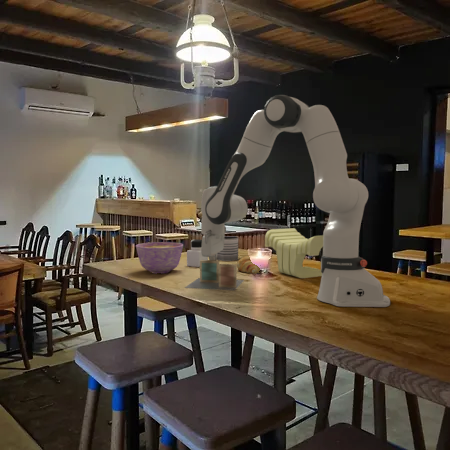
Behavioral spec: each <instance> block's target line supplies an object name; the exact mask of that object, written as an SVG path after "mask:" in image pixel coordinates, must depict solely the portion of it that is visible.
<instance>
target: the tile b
mask: <svg viewBox="0 0 450 450" xmlns="http://www.w3.org/2000/svg"><path fill="white" fill-rule="evenodd" d="M237 269H238V268H237V264H233V263H230V264H229V263H219V287H233V288H236V280H237V271H238V270H237ZM236 289H237V288H236Z"/></svg>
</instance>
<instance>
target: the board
mask: <svg viewBox="0 0 450 450" xmlns="http://www.w3.org/2000/svg"><path fill="white" fill-rule="evenodd" d="M244 281H245V279H236V288H233V287H219V282H218V283H217V282H200V277H198V278H196V279H195V280H194V281H192V282H191V283H189V284H188V285H187V286H184V288H185V289H200V290H201V289H202V290H218V291H220V290H221V291H236V290H237V288H239V286H240V285H241V284H242V283H243V282H244Z"/></svg>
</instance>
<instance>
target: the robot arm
mask: <svg viewBox="0 0 450 450" xmlns="http://www.w3.org/2000/svg"><path fill="white" fill-rule="evenodd" d="M282 132H284V133H285V134H302V135H303V138H304V141H305V144H306V147H307V150H308V153H309V156H310V159H311V162H312V163H311V164H312V166H313V172H314V173H313V174H314V189H313V193H312V198H313V199H312V200H313V203H314V205H315V206H316V207H317V208H318V209H319V210H321V211H323V212H325V213H328V214H329V217H328V220H327V223H326V226H325V228H324V230H323V234H322V235H323V247H322V255H321V257H320V270H321V272H322V276H320V277H321V278H320V284H319V290H318V294H317V296H316V299H317V300H318V301H320V302H323V303H327V304H331V305H333V306H336V307H345V308H346V307H354V308H356V307H357V308H358V307H359V308H363V307H364V308H365V307H367V308H368V307H369V308H370V307H371V308H373V307H374V308H386V307H389V306H391V299H390V298H389V297H388V296H387V295H385V294H384V290H383V289H384V288H383V285H382V283H381V281H380V280H379V279H378V278H376V277H375V276H374V275H373V274H371V273H370V272H369V271H368V270H367V269H366V268H365V267H366V266H367V265H368V261H367V260H366V259H364V258H363V257H360V256H359V252H360V251H359V250H360V249H359V245H360V244H359V243H360V242H359V241H360V230H361V225H362V224H361V223H362V221H363V216H364V211H365V206H366V204H367V202H368V199H369V191H368V187H366V185H365V184H364V183H362V181H359V180H358V179H356V178H349V175H348V169H347V159H348V153H347V150H346V147H345V144H344V141H343V138H342V135H341V132H340V129H339V126H338V125H337V122H336V120H335V118H334V116H333V114H332V112H331V111H330V109H329V107H327V106H326V105H322V104H315V105H312V106H310V105H308V103H305V102H303V101H301V100H300V99H298V98H296V97H292V96H288V95H287V94H286V95H285V94H276V95H273V96H271V97H270V98H269V99H268V100H267V101H266V103H265V105H264V108H263V109H259V110H256V111H255V112H254V114H252V116H251V118H250V120H249V122H248V124H247V126H246V127H245V130H244V132H243V136H242V138H241V140H240V143H239V145H238V147H237V149H236V151H235V152H234V154H233V155H232V156H231V158H230V160H229V161H228V163H227V165H226V167H225V169H224V171H223V173H222V176H221V178H220V180H219V182H218V184H217V185H214V186H210V187H206V188H205V189H203V191H202V194H201V200H200V201H201V203H200V210H201V211H200V212H201V220H200V223H201V232H200V233H201V235H203V236H202V238H201V240H202V249H201V253H202V256H204V257H208V260H217V253H218V252H220V251H222V250H223V248H224V237H225V236H226V235H225V233H226V231H227V228H226V225H225V224H227V223H232V222H237V221H241V220H243V219H245V217H246V216H247V214H248V211H249V206H248V203H247V201H246V199H245V198H244V197H242V196H241V195H237V194H235V192H236V190H237V188H238V185H239V184H240V181H241V180H242V178H243V177H244V176H245V175H246V174H247V173H248V172H250V171H252V170H254V169H256V168H258V167H260V166H262V165H263V164H264V163H266V160H267V159H268V158H269V156H270V154H271V151H272V149H273V146H274V144H275V141H276V138H277V136H279V134H280V133H282Z"/></svg>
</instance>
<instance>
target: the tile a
mask: <svg viewBox="0 0 450 450" xmlns="http://www.w3.org/2000/svg"><path fill="white" fill-rule="evenodd" d="M219 264H220V260H217V259H216V260H209V259H208V260H200V267H199V278H200V282H217V283H218V282H219Z"/></svg>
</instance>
